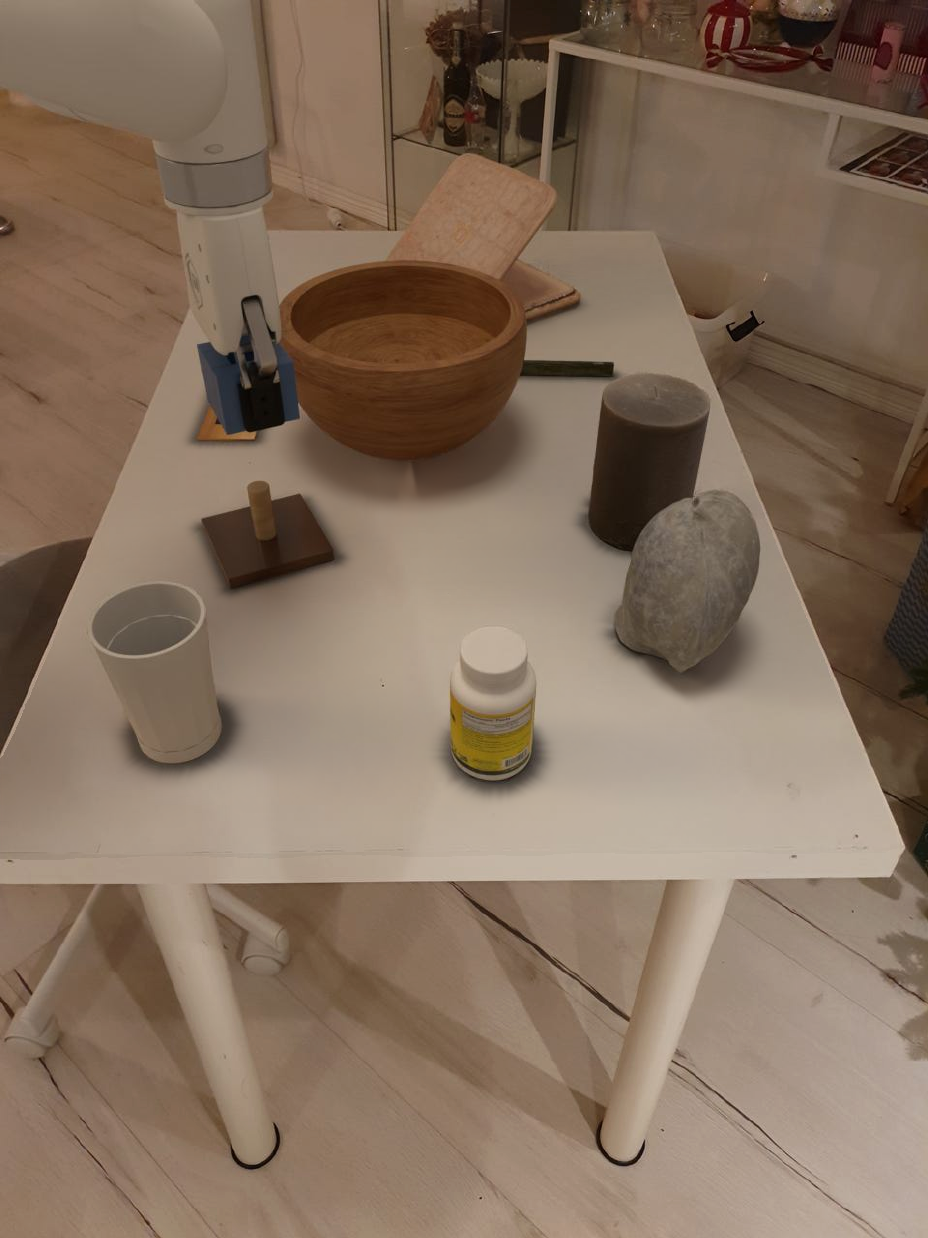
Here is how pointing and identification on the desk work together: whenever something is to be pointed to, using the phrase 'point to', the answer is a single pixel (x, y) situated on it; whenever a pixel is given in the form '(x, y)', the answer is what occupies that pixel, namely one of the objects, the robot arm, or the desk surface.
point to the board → (220, 430)
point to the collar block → (225, 377)
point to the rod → (567, 368)
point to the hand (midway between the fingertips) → (252, 405)
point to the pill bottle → (492, 704)
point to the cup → (160, 667)
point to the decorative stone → (689, 578)
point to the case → (487, 229)
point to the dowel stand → (266, 537)
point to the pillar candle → (645, 452)
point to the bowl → (404, 354)
